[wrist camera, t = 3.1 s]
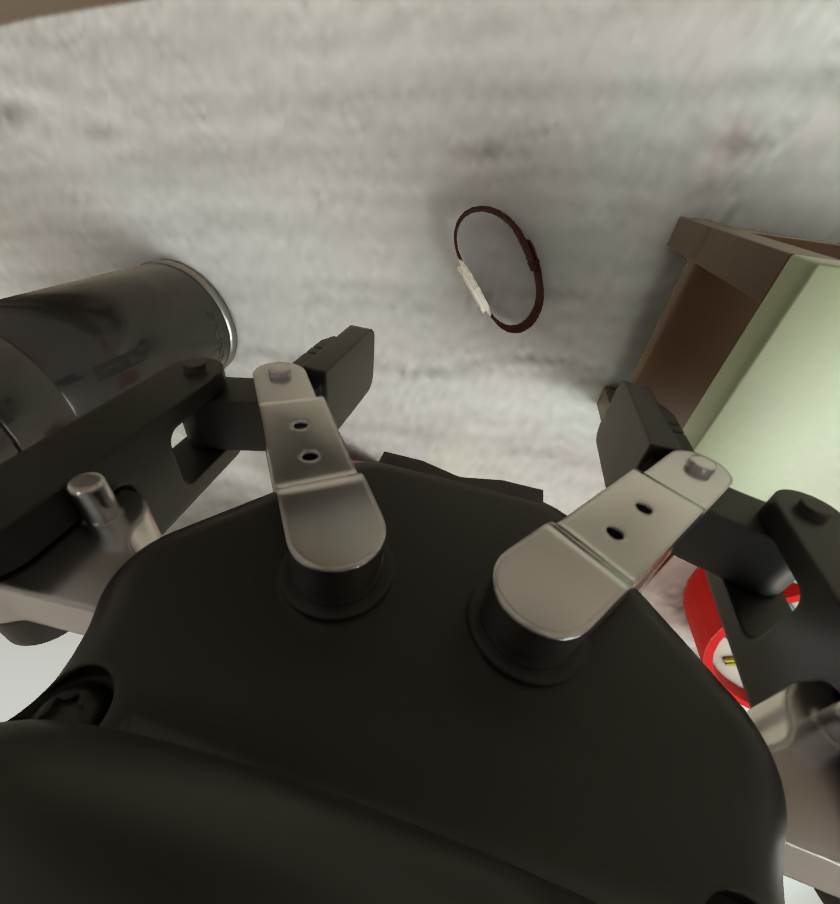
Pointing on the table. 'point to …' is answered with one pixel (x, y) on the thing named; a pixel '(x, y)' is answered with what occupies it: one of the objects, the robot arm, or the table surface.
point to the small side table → (752, 357)
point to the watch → (532, 263)
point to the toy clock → (717, 631)
